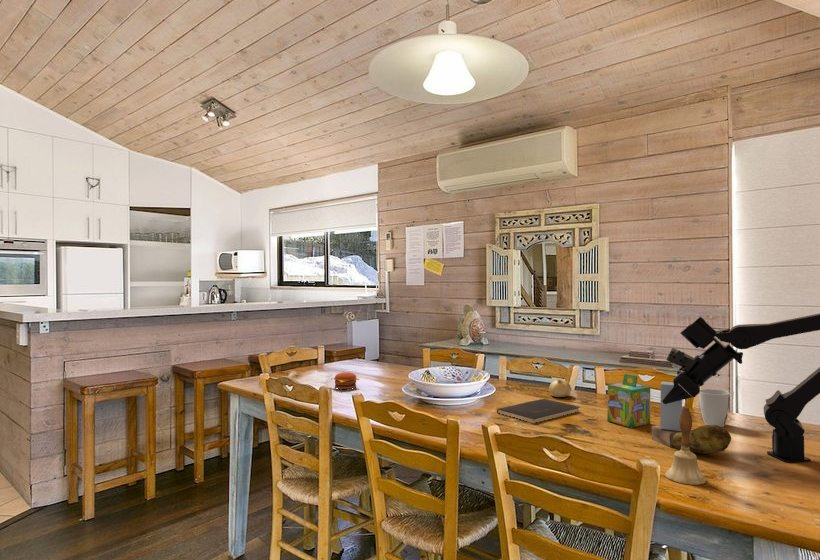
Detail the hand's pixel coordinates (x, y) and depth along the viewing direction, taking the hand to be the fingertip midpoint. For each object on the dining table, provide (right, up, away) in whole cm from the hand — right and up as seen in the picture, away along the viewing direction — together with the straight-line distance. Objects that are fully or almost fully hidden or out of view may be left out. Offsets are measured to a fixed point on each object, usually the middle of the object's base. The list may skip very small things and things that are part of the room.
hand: (665, 399), depth 143 cm
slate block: (+1, -8, -1) cm, 8 cm away
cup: (+22, -11, +15) cm, 29 cm away
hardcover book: (-27, -13, +32) cm, 44 cm away
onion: (-13, -12, +55) cm, 58 cm away
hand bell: (-8, -12, -26) cm, 29 cm away
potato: (+4, -12, -11) cm, 16 cm away
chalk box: (-2, -12, +19) cm, 22 cm away
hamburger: (-97, -13, +77) cm, 125 cm away
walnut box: (+1, -12, -1) cm, 12 cm away
